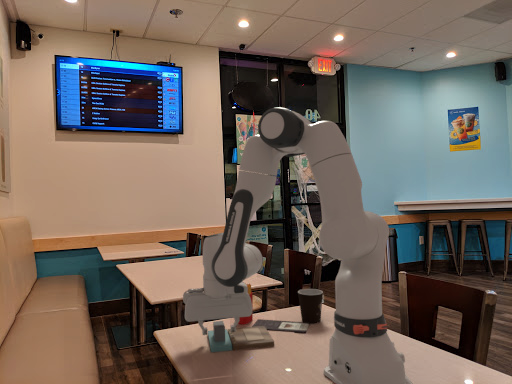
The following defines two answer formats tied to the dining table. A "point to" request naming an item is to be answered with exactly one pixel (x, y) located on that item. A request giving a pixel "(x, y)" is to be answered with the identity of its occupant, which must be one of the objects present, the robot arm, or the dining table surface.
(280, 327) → the chocolate bar
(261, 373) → the dining table surface
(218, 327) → the teal base gray block
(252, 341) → the board
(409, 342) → the dining table surface
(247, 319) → the french fries
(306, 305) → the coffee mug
